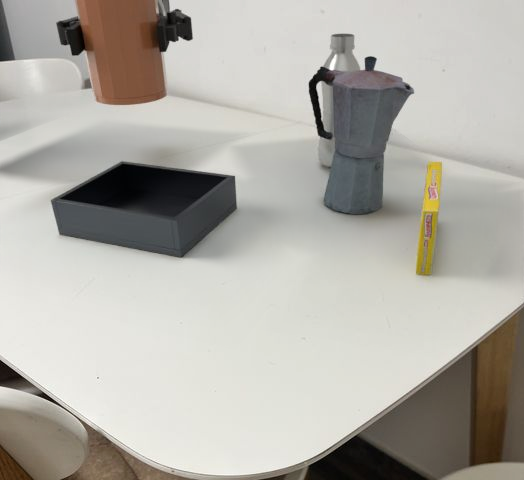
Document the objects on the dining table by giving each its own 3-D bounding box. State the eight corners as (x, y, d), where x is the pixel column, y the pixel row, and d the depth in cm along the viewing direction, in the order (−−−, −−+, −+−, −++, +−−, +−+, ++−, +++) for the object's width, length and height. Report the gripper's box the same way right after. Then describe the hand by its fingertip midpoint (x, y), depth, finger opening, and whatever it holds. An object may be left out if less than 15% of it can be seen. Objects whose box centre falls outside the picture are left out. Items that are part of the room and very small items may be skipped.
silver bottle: (347, 157, 102) (355, 30, 90) (360, 170, 97) (370, 37, 84) (312, 161, 101) (315, 33, 89) (323, 174, 96) (329, 40, 83)
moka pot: (388, 224, 79) (406, 66, 67) (290, 205, 85) (290, 57, 73) (410, 200, 86) (430, 52, 74) (317, 184, 92) (321, 45, 80)
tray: (59, 234, 79) (50, 200, 76) (127, 192, 91) (121, 160, 88) (181, 257, 73) (176, 221, 70) (236, 208, 85) (235, 175, 82)
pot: (79, 102, 72) (56, -10, 65) (121, 85, 79) (105, -17, 72) (142, 107, 69) (125, -10, 62) (180, 90, 76) (169, -17, 68)
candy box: (419, 219, 80) (428, 160, 75) (435, 220, 80) (444, 161, 75) (412, 274, 68) (422, 208, 63) (431, 276, 67) (442, 210, 62)
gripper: (215, 41, 87) (215, 72, 69) (68, 47, 86) (29, 80, 68) (211, -17, 82) (209, -1, 64) (55, -11, 81) (10, 7, 63)
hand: (117, 40), depth 66 cm, fingers closed on pot, 9 cm apart
